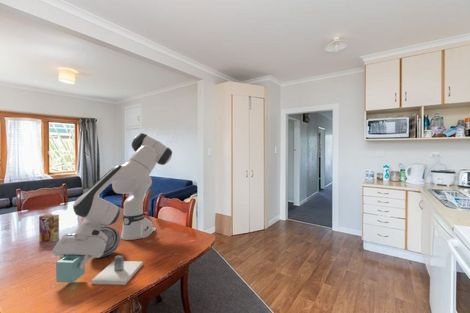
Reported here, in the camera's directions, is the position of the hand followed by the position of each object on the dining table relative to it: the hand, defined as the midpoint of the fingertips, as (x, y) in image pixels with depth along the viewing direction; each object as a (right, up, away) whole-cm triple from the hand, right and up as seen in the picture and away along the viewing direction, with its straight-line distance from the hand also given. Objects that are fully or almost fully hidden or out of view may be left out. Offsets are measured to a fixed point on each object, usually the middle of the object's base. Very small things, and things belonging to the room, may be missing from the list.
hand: (69, 267), depth 90 cm
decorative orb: (-1, -6, +25) cm, 26 cm away
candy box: (-44, -6, +44) cm, 62 cm away
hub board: (+16, -7, +8) cm, 19 cm away
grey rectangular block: (+16, -5, +8) cm, 18 cm away
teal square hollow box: (0, -4, +1) cm, 4 cm away
